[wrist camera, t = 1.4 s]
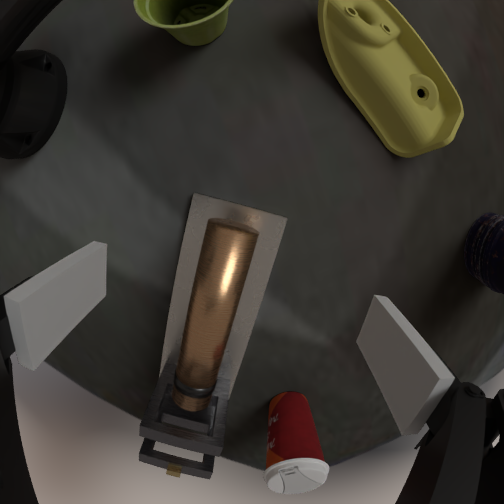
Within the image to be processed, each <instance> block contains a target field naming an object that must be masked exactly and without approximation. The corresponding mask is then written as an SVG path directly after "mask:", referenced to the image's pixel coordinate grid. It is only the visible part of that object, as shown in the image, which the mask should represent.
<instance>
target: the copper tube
mask: <svg viewBox="0 0 504 504" xmlns="http://www.w3.org/2000/svg"><path fill="white" fill-rule="evenodd" d="M258 236H259V232H258V231H257V230H256V229H254V228H252V227H250V226H248V225H245V224H243V223H239V222H236V221H232V220H228V219H222V218H210V219H208V222H207V226H206V230H205V234H204V239H203V243H202V247H201V251H200V256H199V260H198V264H197V269H196V273H195V278H194V282H193V287H192V292H191V296H190V301H189V306H188V311H187V315H186V320H185V325H184V330H183V335H182V341H181V346H180V351H179V356H178V362H177V367H176V369H175V374H174V381H173V382H174V384H173V390H172V398H173V401H174V402H175V403H176V404H177V405H178V406H179V407H181V408H182V409H185V410H188V411H201V410H204V409H206V408H207V407H208V406H209V404H210V401H211V397H212V394H213V392H214V390H215V386H216V383H217V377H218V373H219V370H220V366H221V363H222V360H223V356H224V353H225V349H226V346H227V342H228V339H229V336H230V332H231V329H232V325H233V322H234V319H235V315H236V312H237V308H238V305H239V301H240V298H241V295H242V291H243V288H244V284H245V281H246V277H247V274H248V270H249V267H250V264H251V260H252V257H253V253H254V250H255V246H256V243H257V240H258Z"/></svg>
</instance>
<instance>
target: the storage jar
mask: <svg viewBox="0 0 504 504" xmlns="http://www.w3.org/2000/svg"><path fill="white" fill-rule="evenodd" d="M464 260H465V265H466V268H467V270H468V272H469V273H470V274H471V275H472V276H473V277H475V278H476V279H478V280H479V281H480V282H481V283H483V284H484V285H485V286H487V287H489V288H490V289H491V290H493V291H495V292H497V293H502V294H504V216H503V215H498V214H495V213H486V214H483V215H482V216H480V217H479V218H478V219H477V220H476V221H475V222H474V224H473V225H472V227H471V229H470V231H469V233H468V236H467V239H466V242H465V248H464Z"/></svg>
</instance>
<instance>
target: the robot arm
mask: <svg viewBox="0 0 504 504" xmlns="http://www.w3.org/2000/svg"><path fill="white" fill-rule="evenodd" d="M61 1H62V0H0V157H2V158H6V159H19V158H25V157H28V156H30V155H32V154H34V153H35V152H36V151H38V150H39V149H40V148H41V147H42V146H43V145H44V144H45V143H46V142H47V140H48V139H49V138H50V136H51V135H52V133H53V131H54V130H55V128H56V126H57V124H58V122H59V119H60V117H61V114H62V111H63V108H64V104H65V100H66V94H67V76H66V71H65V68H64V65H63V64H62V62H61V60H60V59H59V58H58V57H56V56H55V55H53V54H51V53H48V52H46V51H43V50H25V51H16V50H17V49H18V48H19V46H20V45H21V44H22V43H23V42H24V40H25V39H26V38H27V37H28V36H29V35H30V33H31V32H32V31H33V30H34V29H35V28H36V27H37V26H38V25H39V23H40V22H41V21H42V20H43V19H44V18H45V17H46V16H47V15H48V14H49V13H50V12H51V11H52V10H53V9H54V8H55V7H56V6H57V5H58V4H59V3H60V2H61ZM15 51H16V52H15ZM106 259H107V244H105V243H100V242H96V241H93V242H92V243H90V244H88V245H86V246H84V247H83V248H81V249H79V250H77V251H76V252H74V253H72V254H70V255H69V256H67V257H65V258H64V259H62V260H60V261H58V262H57V263H55V264H53V265H52V266H50V267H48V268H47V269H45V270H44V271H42V272H40V273H39V274H37V275H35V276H31V277H28V278H27V279H25V280H23V281H22V282H20V284H17V285H16V286H14V288H13V287H12V288H11V289H9V290H8V291H6V292H5V293H3V294H2V295H0V504H39V503H38V501H37V497H36V494H35V492H34V488H33V485H32V482H31V478H30V475H29V471H28V467H27V464H26V459H25V455H24V451H23V446H22V441H21V436H20V431H19V425H18V419H17V412H16V405H15V397H14V386H13V375H12V363H11V359H10V355H11V354H12V353H14V352H16V355H17V359H18V362H19V364H20V365H22V366H24V367H26V368H28V369H30V370H32V371H35V370H36V368H37V367H38V366H39V365H40V364H41V363H42V362H43V361H44V360H45V358H46V357H47V356H48V355H49V354H50V353H51V352H52V351H53V350H54V349H55V347H56V346H57V345H58V344H59V343H60V342H61V341H62V340H63V339H64V338H65V337H66V336H67V335H68V334H69V333H70V331H71V330H72V329H73V328H74V327H75V326H76V325H77V324H78V323H79V322H80V321H81V320H82V319H83V318H84V317H85V316H86V315H87V314H88V313H89V312H90V311H91V310H92V309H93V308H94V307H95V306H96V305H97V304H98V303H99V302H100V301H101V300H102V299H103V298H104V297H105V296H106ZM356 342H357V344H358V346H359V348H360V350H361V352H362V354H363V356H364V358H365V360H366V362H367V364H368V366H369V368H370V370H371V372H372V374H373V376H374V378H375V380H376V382H377V384H378V386H379V388H380V390H381V392H382V394H383V396H384V398H385V400H386V403H387V405H388V407H389V409H390V411H391V413H392V415H393V417H394V419H395V422H396V424H397V426H398V428H399V430H400V432H401V435H411V434H417V433H418V432H419V431H420V430H421V428H422V427H423V426H424V424H425V423H427V425H428V427H429V430H428V432H427V433H426V434H425V435H424V437H423V438H422V439H421V440H420V442H419V443H418V444H417V445H416V447H415V448H414V449H417V448H418V447H419V446H420V449H419V452H418V454H417V457H416V459H415V462H414V464H413V467H412V469H411V471H410V474H409V476H408V478H407V480H406V483H405V485H404V487H403V489H402V491H401V493H400V495H399V497H398V499H397V501H396V503H395V504H504V389H500V390H499V391H498V393H497V394H496V396H495V397H494V399H491V398H486V397H485V394H484V392H483V391H482V390H481V389H480V388H479V387H478V386H476V385H474V384H472V383H469V382H463V383H461V382H460V381H459V380H458V378H457V377H456V376H455V374H454V373H453V372H452V371H451V369H450V368H449V367H448V366H447V364H446V363H445V362H444V361H442V358H441V357H440V356H439V355H438V353H437V352H435V351H434V350H433V349H432V348H431V347H430V346H429V345H428V344H427V343H426V341H425V340H424V339H423V338H422V337H421V335H420V334H419V333H418V332H417V331H416V330H415V328H414V327H413V326H412V325H411V324H410V323H409V321H408V320H407V319H406V318H405V317H404V316H403V314H402V313H401V312H400V311H399V310H398V309H397V308H396V307H395V305H394V304H393V303H392V302H391V301H390V300H389V299H388V298H387V297H384V296H378V295H374V297H373V299H372V302H371V305H370V308H369V310H368V313H367V316H366V318H365V321H364V324H363V326H362V329H361V331H360V334H359V336H358V339H357V341H356ZM499 434H500V439H499V442H498V443H497V445H496V446H495V447H494V448H493V446H492V443H493V441H494V440H495V439H496V438H497V437H498V435H499Z"/></svg>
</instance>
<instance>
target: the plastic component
mask: <svg viewBox="0 0 504 504" xmlns="http://www.w3.org/2000/svg"><path fill="white" fill-rule="evenodd" d="M318 24H319V32H320V37H321V42H322V45H323V49H324V52H325V55H326V57H327V60H328V63H329V65H330V67H331V69H332V71H333V73H334V75H335V77H336V78H337V80H338V82H339V84H340V85H341V87H342V88H343V90H344V91H345V93H346V94H347V95H348V96H349V98H350V99H351V100H352V102H353V103H354V104H355V105H356V107H357V108H358V109H359V110H360V112H361V113H362V114H363V116H364V117H365V118H366V120H367V121H368V122H369V124H370V125H371V127H372V128H373V129H374V131H375V132H376V134H377V135H378V136H379V138H380V139H381V141H382V142H383V144H384V145H385V147H386V148H387V149H389V150H390V151H391V152H392V153H394V154H396V155H398V156H401V157H406V158H409V157H415V156H418V155H421V154H423V153H426V152H429V151H432V150H435V149H438V148H441V147H444V146H446V145H448V144H449V143H450V142H451V141H452V140H453V138H454V136H455V134H456V132H457V130H458V128H459V125H460V123H461V121H462V118H463V115H464V111H463V106H462V102H461V99H460V97H459V95H458V93H457V91H456V90H455V88H454V86H453V85H452V83H451V81H450V80H449V78H448V77H447V75H446V73H445V72H444V70H443V69H442V67H441V66H440V64H439V63H438V61H437V60H436V58H435V57H434V56H433V54H432V53H431V51H430V50H429V49H428V47H427V46H426V44H425V43H424V42H423V40H422V39H421V38H420V36H419V35H418V34H417V33H416V31H415V30H414V29H413V28H412V26H411V25H410V24H409V23H408V22H407V20H406V19H405V18H404V17H403V16H402V15H401V13H400V12H399V11H398V10H397V9H396V8H395V7H394V6H393V5H392V4H391V3H390V2H389V1H388V0H319V3H318ZM418 89H422V90H423V91H424V93H425V94H424V97H422V98H420V97H419V96H418V95H417V91H418Z"/></svg>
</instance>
